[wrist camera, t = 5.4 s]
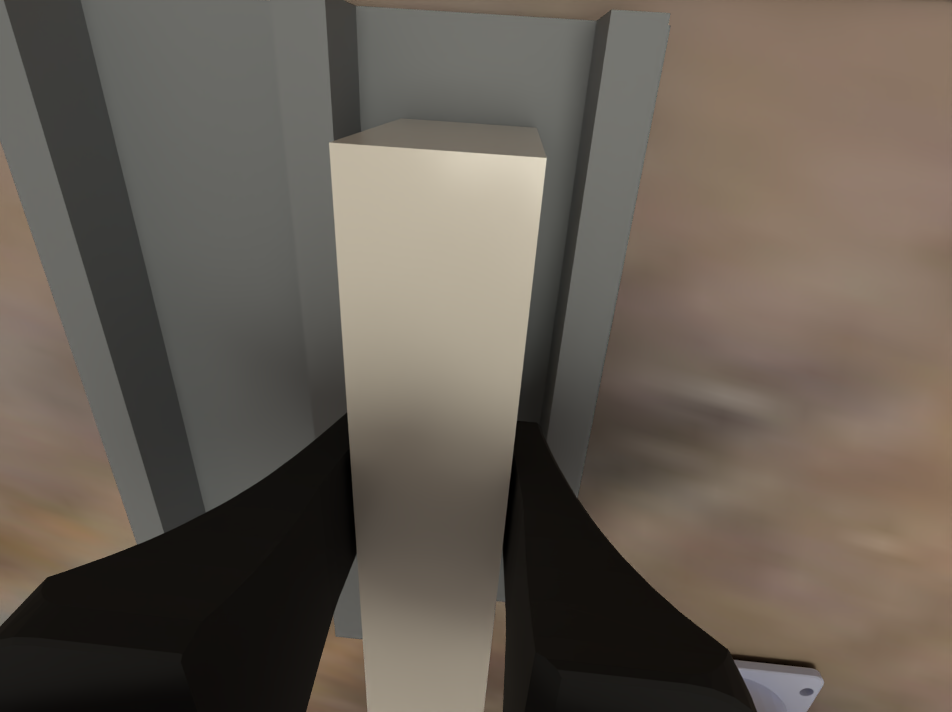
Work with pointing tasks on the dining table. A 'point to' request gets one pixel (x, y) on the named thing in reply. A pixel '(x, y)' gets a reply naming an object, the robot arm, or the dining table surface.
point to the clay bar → (433, 388)
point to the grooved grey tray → (292, 211)
